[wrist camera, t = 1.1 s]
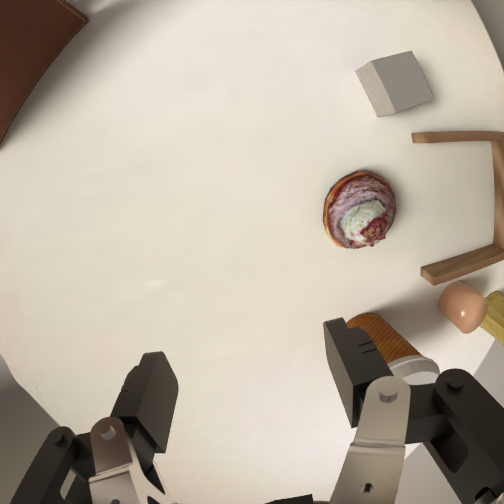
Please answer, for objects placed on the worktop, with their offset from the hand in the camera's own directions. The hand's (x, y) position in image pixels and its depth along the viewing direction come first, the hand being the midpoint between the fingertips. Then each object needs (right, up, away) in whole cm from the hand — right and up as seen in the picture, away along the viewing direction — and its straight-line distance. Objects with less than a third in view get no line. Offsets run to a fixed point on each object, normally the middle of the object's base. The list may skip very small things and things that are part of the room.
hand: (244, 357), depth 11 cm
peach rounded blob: (+27, -2, +20) cm, 34 cm away
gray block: (+13, +20, +12) cm, 27 cm away
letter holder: (-27, +26, +9) cm, 39 cm away
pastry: (+11, +8, +17) cm, 21 cm away
